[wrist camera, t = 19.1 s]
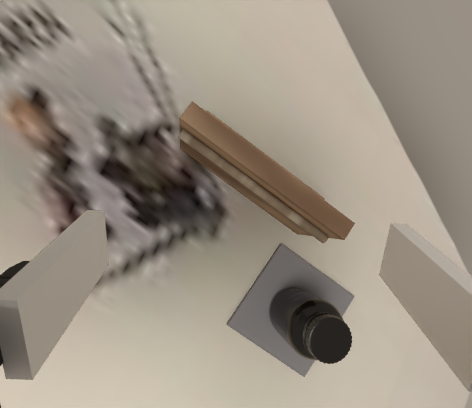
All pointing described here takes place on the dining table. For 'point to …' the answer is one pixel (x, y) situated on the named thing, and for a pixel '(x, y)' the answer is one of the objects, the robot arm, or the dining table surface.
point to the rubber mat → (264, 291)
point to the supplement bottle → (310, 325)
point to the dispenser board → (259, 176)
